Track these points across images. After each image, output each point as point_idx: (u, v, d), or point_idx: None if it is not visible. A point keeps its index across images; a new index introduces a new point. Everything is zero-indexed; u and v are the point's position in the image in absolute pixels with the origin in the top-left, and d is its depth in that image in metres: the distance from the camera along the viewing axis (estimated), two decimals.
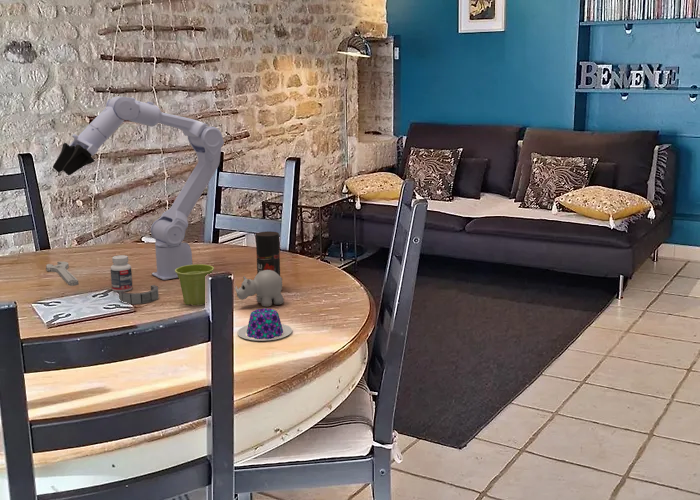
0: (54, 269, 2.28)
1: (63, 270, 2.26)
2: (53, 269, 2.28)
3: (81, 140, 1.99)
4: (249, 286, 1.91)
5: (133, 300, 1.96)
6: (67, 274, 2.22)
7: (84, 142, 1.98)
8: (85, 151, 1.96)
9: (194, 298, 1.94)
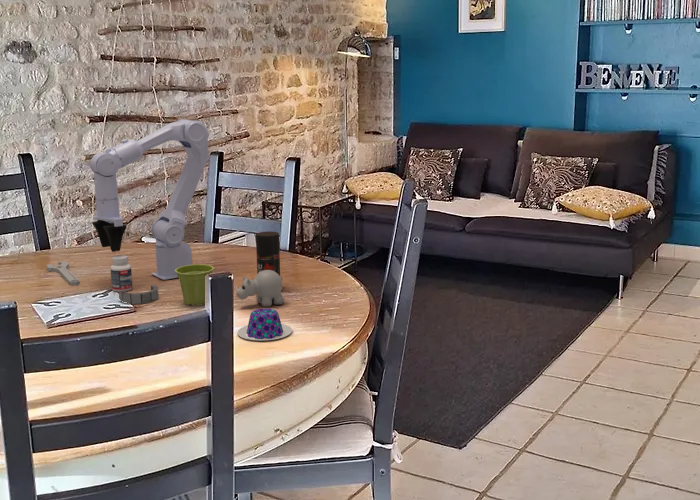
0: (55, 269, 2.28)
1: (64, 270, 2.26)
2: (54, 269, 2.28)
3: (103, 219, 2.07)
4: (249, 286, 1.91)
5: (133, 300, 1.96)
6: (68, 274, 2.22)
7: (107, 219, 2.06)
8: (114, 227, 2.06)
9: (194, 298, 1.94)
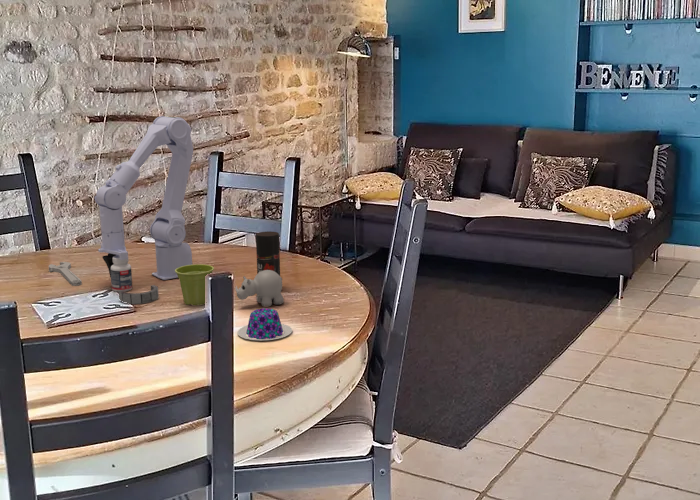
0: (57, 269, 2.28)
1: (66, 270, 2.26)
2: (56, 269, 2.28)
3: (108, 251, 2.07)
4: (249, 286, 1.91)
5: (133, 300, 1.96)
6: (70, 274, 2.22)
7: (112, 252, 2.06)
8: None
9: (194, 298, 1.94)
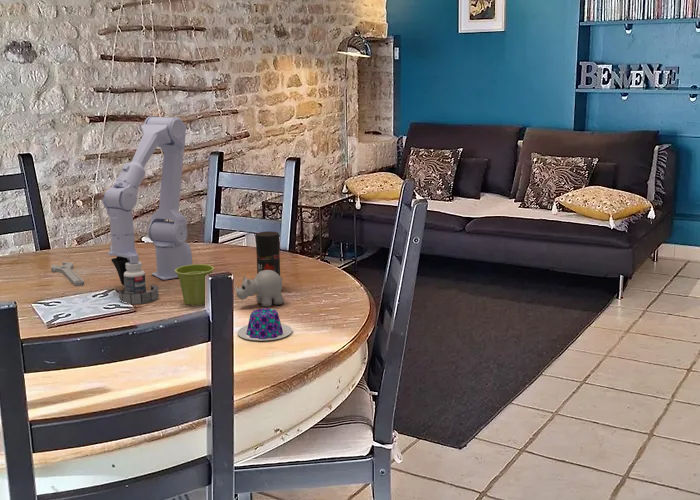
0: (59, 270, 2.28)
1: (68, 271, 2.25)
2: (58, 270, 2.28)
3: (118, 254, 2.02)
4: (249, 286, 1.91)
5: (133, 300, 1.96)
6: (72, 275, 2.21)
7: (122, 255, 2.01)
8: (125, 261, 2.03)
9: (194, 298, 1.94)
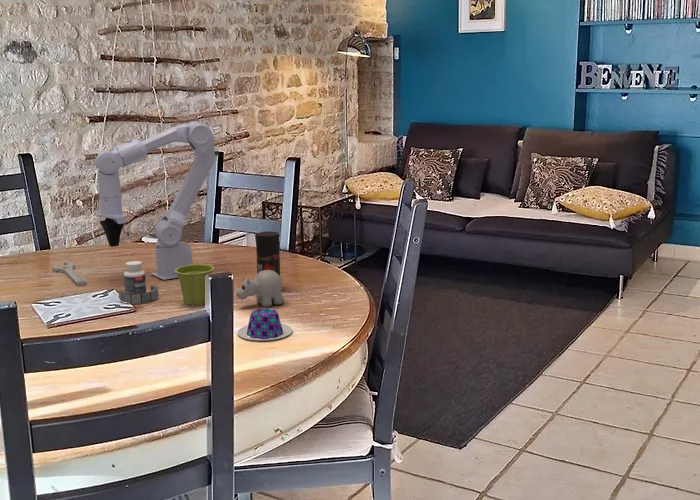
0: (61, 270, 2.27)
1: (70, 271, 2.25)
2: (60, 270, 2.28)
3: (106, 216, 2.10)
4: (249, 286, 1.91)
5: (133, 300, 1.96)
6: (74, 275, 2.21)
7: (110, 217, 2.10)
8: (112, 223, 2.12)
9: (194, 298, 1.94)
